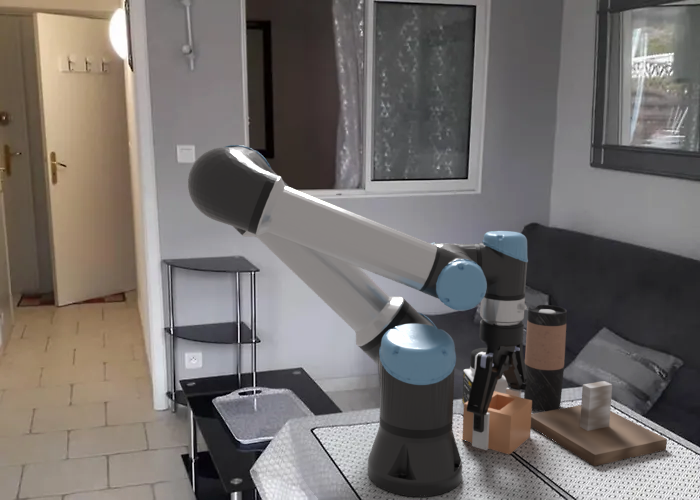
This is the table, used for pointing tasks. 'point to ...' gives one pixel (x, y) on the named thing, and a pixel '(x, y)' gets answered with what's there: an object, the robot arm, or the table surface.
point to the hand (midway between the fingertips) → (496, 434)
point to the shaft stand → (597, 429)
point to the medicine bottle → (469, 374)
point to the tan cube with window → (503, 422)
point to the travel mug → (545, 356)
